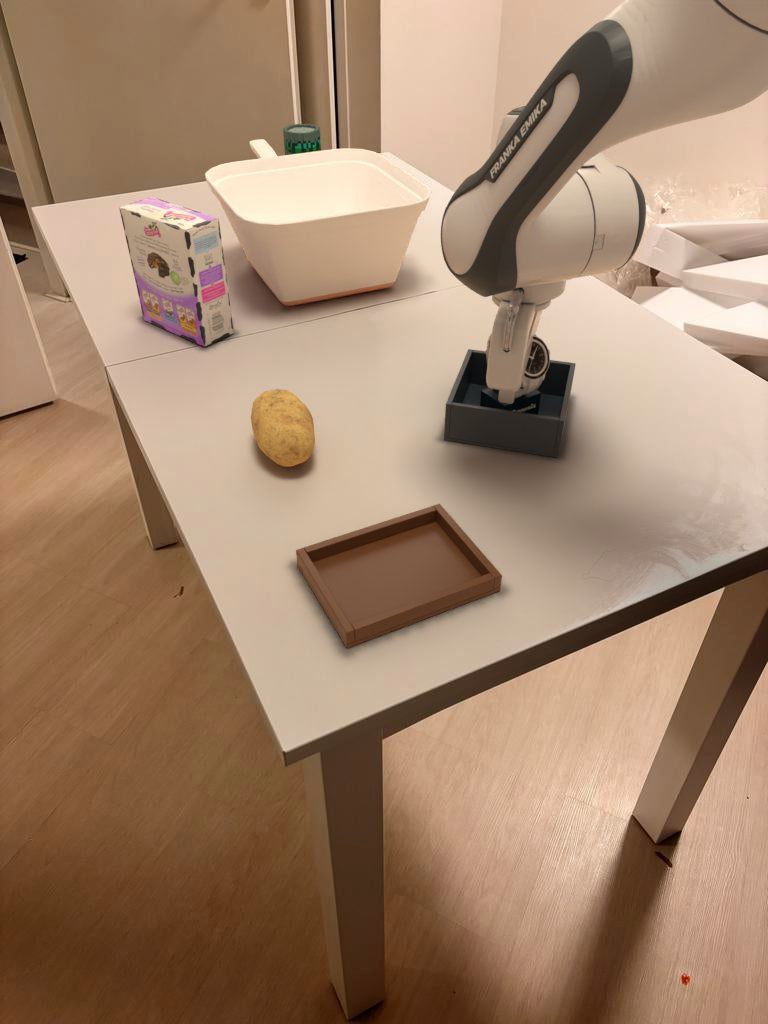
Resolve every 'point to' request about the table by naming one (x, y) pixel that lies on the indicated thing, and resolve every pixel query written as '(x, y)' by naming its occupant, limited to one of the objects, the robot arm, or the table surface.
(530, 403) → the watch
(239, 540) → the table surface
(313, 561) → the tray
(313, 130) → the can
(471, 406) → the bin
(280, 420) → the potato
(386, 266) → the pot
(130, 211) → the candy box
